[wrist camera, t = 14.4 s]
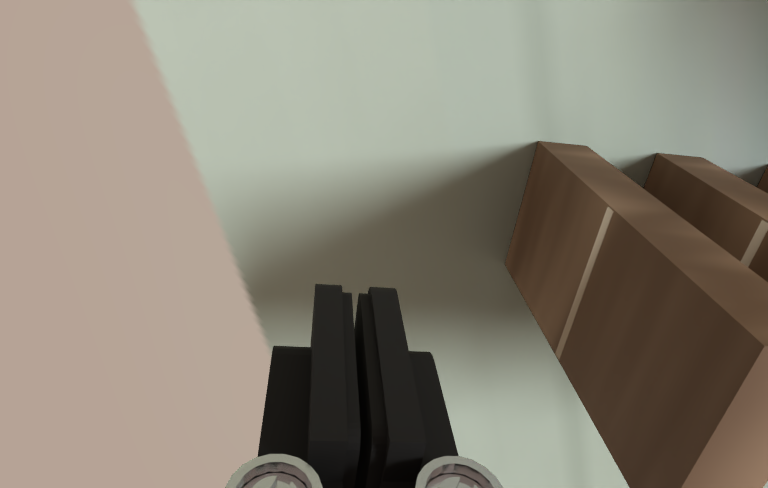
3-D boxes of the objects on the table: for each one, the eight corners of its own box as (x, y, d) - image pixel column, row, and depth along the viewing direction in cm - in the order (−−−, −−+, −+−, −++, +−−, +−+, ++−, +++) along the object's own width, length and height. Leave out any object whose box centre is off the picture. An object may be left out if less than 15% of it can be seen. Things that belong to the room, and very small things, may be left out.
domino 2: (702, 157, 19) (1073, 361, 10) (653, 274, 22) (911, 531, 12) (656, 152, 19) (989, 356, 9) (610, 271, 21) (840, 531, 12)
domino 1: (587, 146, 19) (859, 350, 9) (548, 267, 21) (732, 531, 11) (537, 141, 18) (763, 345, 9) (504, 264, 21) (653, 532, 11)
